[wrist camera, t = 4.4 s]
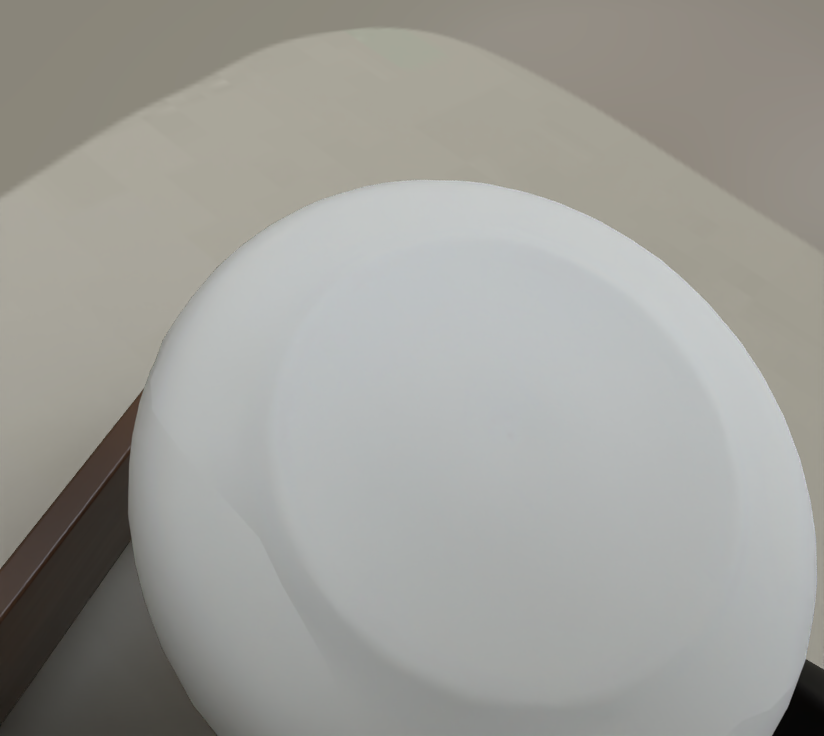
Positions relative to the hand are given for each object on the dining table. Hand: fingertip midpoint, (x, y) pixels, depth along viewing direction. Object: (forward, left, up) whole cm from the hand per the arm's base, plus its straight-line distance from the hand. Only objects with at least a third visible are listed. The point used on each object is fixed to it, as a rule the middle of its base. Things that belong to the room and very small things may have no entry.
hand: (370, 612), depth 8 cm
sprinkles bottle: (0, 0, -8) cm, 9 cm away
